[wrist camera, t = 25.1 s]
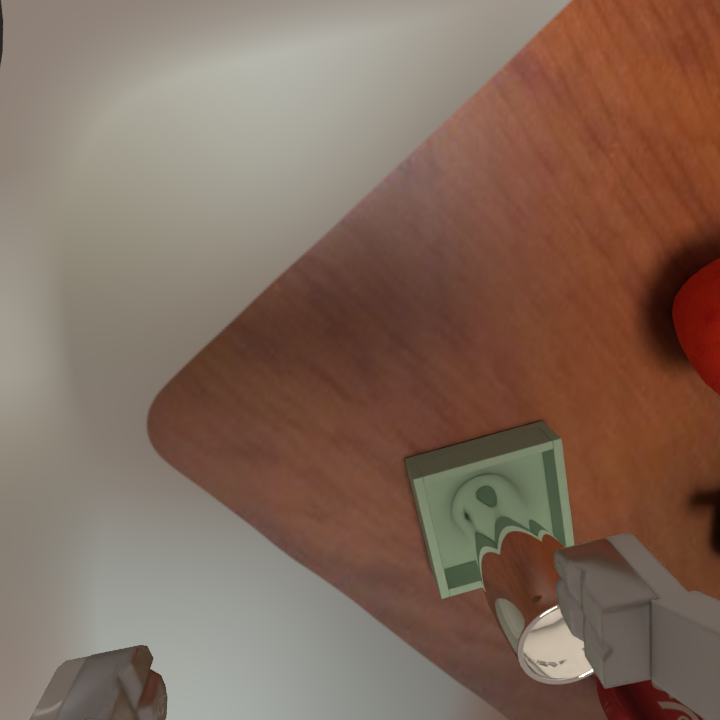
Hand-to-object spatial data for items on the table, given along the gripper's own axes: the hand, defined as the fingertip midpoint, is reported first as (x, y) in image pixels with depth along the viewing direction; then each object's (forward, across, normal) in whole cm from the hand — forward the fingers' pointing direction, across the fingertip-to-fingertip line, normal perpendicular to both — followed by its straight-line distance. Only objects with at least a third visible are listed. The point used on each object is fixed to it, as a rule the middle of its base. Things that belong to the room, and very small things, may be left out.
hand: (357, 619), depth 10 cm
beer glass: (+30, -10, +21) cm, 38 cm away
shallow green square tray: (+31, -10, +21) cm, 39 cm away
